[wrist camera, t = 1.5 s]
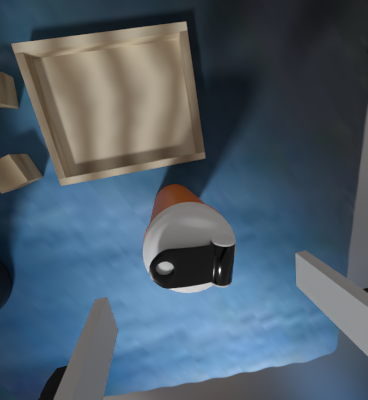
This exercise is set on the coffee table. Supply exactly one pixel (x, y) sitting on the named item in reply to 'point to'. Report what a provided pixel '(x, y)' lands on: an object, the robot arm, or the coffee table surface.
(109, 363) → the robot arm
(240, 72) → the coffee table surface
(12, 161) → the oak block
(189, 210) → the shaker bottle
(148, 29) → the tray
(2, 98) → the oak block
